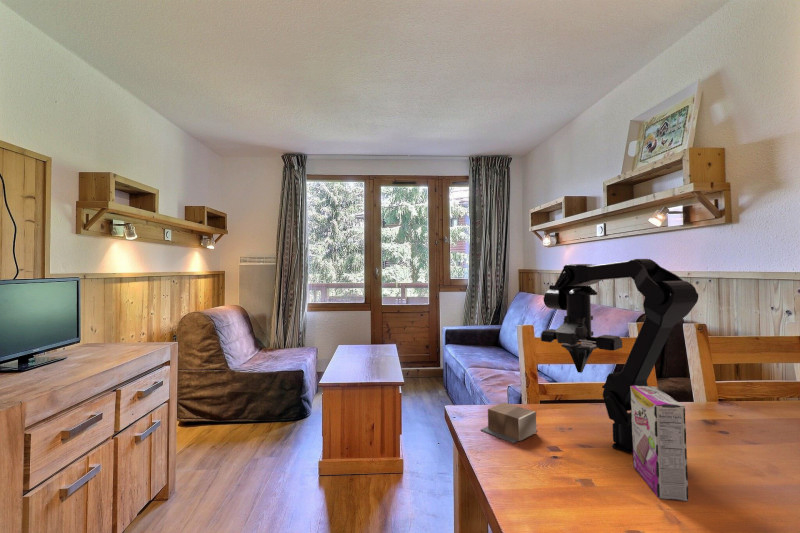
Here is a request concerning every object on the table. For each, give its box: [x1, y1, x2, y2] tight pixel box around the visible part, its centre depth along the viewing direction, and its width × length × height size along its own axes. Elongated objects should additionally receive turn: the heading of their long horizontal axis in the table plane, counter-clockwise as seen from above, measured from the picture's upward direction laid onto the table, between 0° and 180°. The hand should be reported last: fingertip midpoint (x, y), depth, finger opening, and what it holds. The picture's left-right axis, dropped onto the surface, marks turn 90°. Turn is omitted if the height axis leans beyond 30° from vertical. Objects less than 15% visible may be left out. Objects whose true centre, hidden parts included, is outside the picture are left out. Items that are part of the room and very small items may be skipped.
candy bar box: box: [630, 385, 689, 502], centre depth 70 cm, size 11×5×16 cm, turn 168°
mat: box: [480, 425, 538, 444], centre depth 94 cm, size 10×10×1 cm
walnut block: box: [487, 402, 537, 442], centre depth 93 cm, size 5×7×9 cm
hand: (580, 372), depth 98 cm, fingers closed
